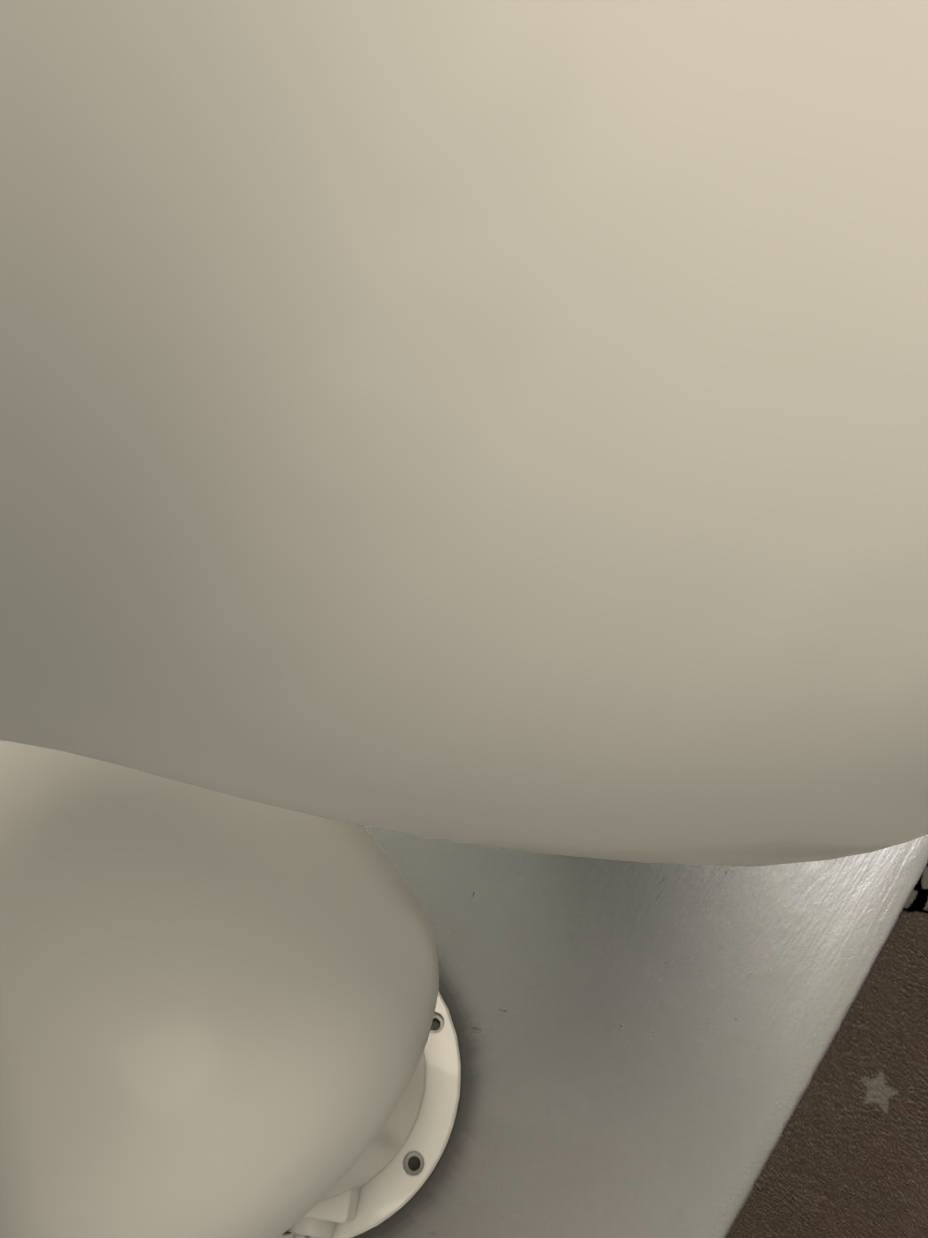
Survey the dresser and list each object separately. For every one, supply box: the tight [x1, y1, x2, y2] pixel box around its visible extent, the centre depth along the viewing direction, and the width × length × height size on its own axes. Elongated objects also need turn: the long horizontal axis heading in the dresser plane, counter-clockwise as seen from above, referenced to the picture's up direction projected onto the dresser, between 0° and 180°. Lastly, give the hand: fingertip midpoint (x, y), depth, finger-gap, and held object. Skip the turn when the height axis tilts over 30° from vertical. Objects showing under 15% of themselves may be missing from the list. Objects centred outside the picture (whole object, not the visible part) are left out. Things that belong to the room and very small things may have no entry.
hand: (698, 668), depth 42 cm, fingers open, 9 cm apart
